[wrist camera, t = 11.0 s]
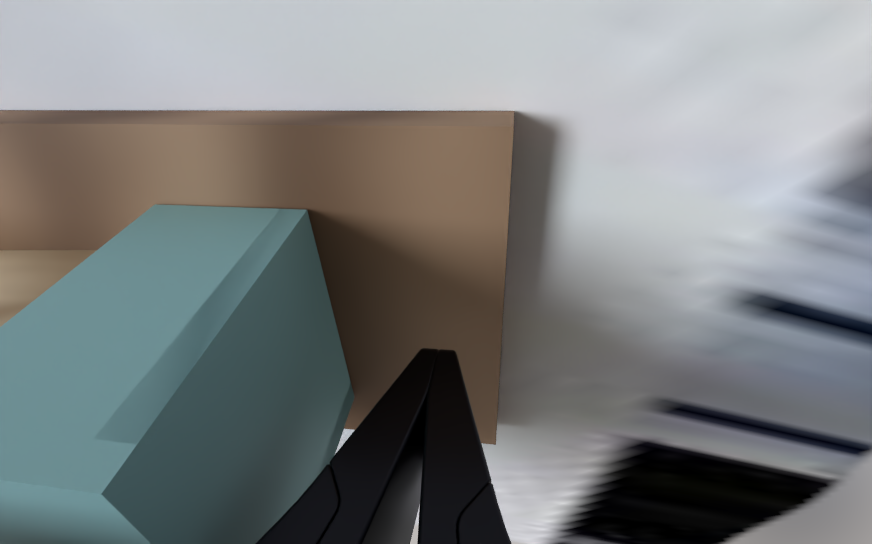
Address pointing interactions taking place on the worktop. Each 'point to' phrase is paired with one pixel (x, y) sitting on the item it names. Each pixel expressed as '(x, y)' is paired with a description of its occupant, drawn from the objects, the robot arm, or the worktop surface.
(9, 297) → the wooden block
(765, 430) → the worktop surface
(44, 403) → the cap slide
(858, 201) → the worktop surface
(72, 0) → the worktop surface
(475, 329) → the board
